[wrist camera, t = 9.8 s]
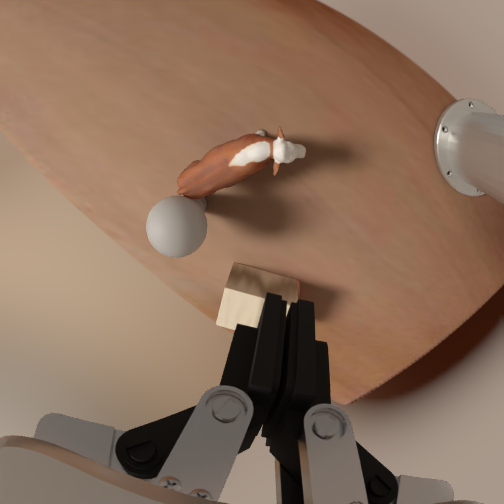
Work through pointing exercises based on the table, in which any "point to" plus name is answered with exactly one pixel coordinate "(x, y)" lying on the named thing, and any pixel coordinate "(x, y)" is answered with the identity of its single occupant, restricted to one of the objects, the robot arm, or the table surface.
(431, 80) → the table surface
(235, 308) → the birch block
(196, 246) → the lightbulb
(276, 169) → the bull figurine
